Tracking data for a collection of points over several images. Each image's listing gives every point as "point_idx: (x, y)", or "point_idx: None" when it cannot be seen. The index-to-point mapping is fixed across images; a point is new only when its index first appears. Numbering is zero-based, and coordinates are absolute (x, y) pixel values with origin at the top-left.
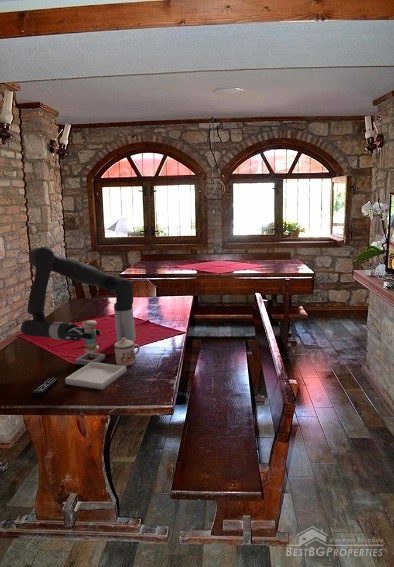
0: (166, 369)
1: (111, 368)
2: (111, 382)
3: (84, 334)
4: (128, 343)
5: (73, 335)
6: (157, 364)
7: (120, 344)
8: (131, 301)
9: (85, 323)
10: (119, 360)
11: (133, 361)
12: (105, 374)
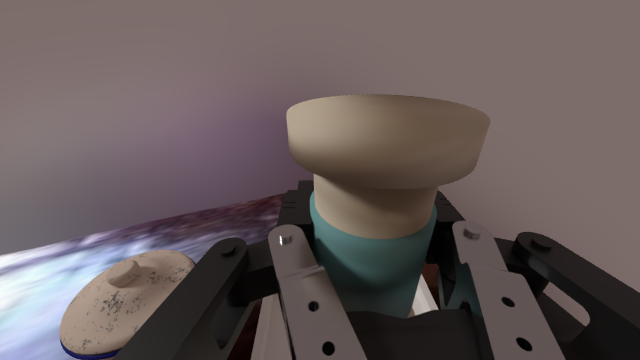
0: (245, 214)
1: (264, 355)
2: None
3: (449, 220)
4: (162, 256)
5: (620, 288)
6: (210, 240)
7: (167, 283)
8: None
9: (432, 113)
10: None
11: None
12: None
